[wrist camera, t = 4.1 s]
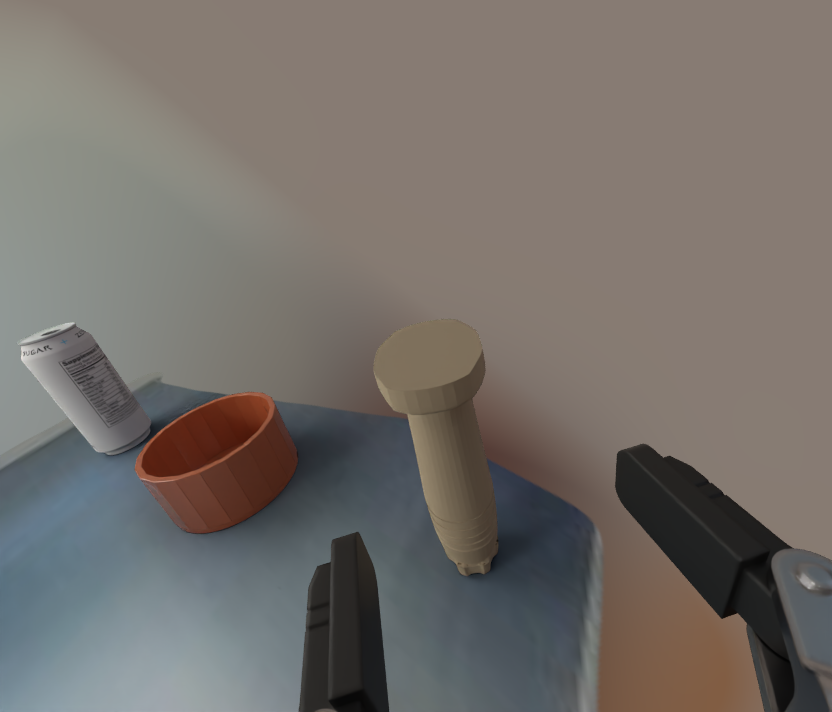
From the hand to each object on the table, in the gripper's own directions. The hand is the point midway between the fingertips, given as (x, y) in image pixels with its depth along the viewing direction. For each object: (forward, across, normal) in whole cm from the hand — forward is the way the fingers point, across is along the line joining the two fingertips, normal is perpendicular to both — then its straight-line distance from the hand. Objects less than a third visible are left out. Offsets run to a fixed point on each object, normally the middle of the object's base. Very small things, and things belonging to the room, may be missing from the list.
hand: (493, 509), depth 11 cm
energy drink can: (+35, +36, +13) cm, 52 cm away
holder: (+22, +18, +13) cm, 31 cm away
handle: (+7, 0, +13) cm, 15 cm away
